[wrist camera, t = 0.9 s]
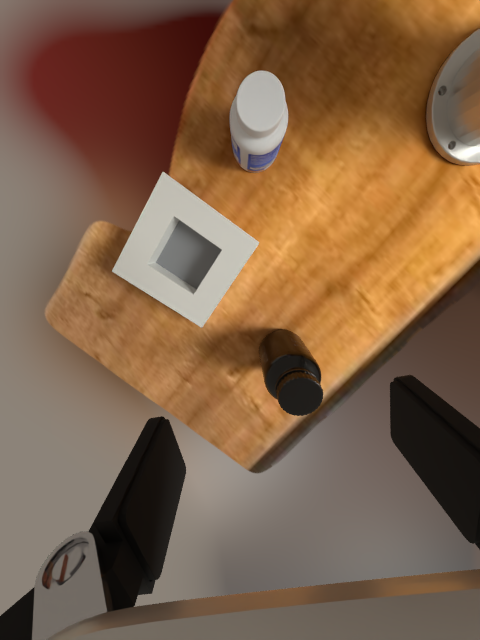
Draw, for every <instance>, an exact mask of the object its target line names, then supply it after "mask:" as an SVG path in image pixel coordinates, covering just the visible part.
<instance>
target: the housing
mask: <svg viewBox="0 0 480 640" xmlns="http://www.w3.org/2000/svg"><path fill="white" fill-rule="evenodd" d="M258 244H259V242H258V241H257V240H255V239H254V238H253V237H251V236H250V235H249V234H247V233H246V232H244V231H243V230H242V229H240V228H239V227H238V226H236V225H235V224H234V223H232V222H231V221H230V220H228V219H227V218H225V217H224V216H223V215H221V214H220V213H219V212H217V211H216V210H215V209H213V208H212V207H210V206H209V205H208V204H206V203H205V202H204V201H202V200H201V199H200V198H198V197H197V196H195V195H194V194H193V193H191V192H190V191H189V190H187V189H186V188H185V187H183V186H182V185H181V184H179V183H178V182H176V181H175V180H174V179H172V178H171V177H170V176H168V175H167V174H166V173H164V172H162V174H161V176H160V178H159V180H158V182H157V184H156V186H155V188H154V190H153V192H152V194H151V196H150V198H149V200H148V202H147V204H146V205H145V207H144V209H143V211H142V213H141V215H140V217H139V219H138V221H137V223H136V225H135V227H134V229H133V231H132V233H131V235H130V237H129V239H128V241H127V243H126V245H125V247H124V249H123V250H122V252H121V254H120V256H119V258H118V260H117V262H116V264H115V266H114V268H113V270H112V272H114V273H115V274H117V275H118V276H120V277H122V278H123V279H125V280H126V281H128V282H130V283H131V284H133V285H134V286H136V287H138V288H139V289H141V290H142V291H144V292H146V293H147V294H149V295H150V296H152V297H154V298H155V299H157V300H158V301H160V302H162V303H163V304H165V305H166V306H168V307H170V308H171V309H173V310H174V311H176V312H178V313H179V314H181V315H182V316H184V317H186V318H187V319H189V320H190V321H192V322H194V323H195V324H197V325H198V326H200V327H201V328H202V327H203V325H204V324H205V322H206V321H207V320H208V318H209V317H210V315H211V314H212V312H213V311H214V309H215V308H216V306H217V305H218V303H219V302H220V300H221V299H222V297H223V296H224V294H225V293H226V291H227V290H228V288H229V287H230V286H231V284H232V283H233V281H234V280H235V278H236V277H237V275H238V274H239V272H240V271H241V269H242V268H243V266H244V265H245V263H246V262H247V260H248V259H249V257H250V256H251V254H252V253H253V252H254V250H255V249H256V247H257V246H258Z"/></svg>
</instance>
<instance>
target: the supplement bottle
mask: <svg viewBox="0 0 480 640" xmlns="http://www.w3.org/2000/svg"><path fill="white" fill-rule="evenodd" d="M259 357H260V362H261V367H262V372H263V377H264V382H265V385H266V388H267V390H268V392H269V393H270V394H271V395H272V396H273V397H274V398H275V399H277V400H278V402H279V404H280V406H281V408H283V410H284V411H286V412H287V413H289V414H292V415H297V416H300V415H301V416H303V415H307V414H309V413H311V412H313V411H315V409H317V408H318V406H320V403H321V402H322V399H323V390H322V388H321V385H320V382H321V371H320V368H319V365H318V364H317V362H316V360H315V359H314V358H313V356H312V355H311V353H310V352H309V350H308V349H307V347H306V346H305V344H304V343H303V341H302V340H301V339H300V338H299V336H298V335H296V334H295V333H293V332H291V331H288V330H277V331H274V332H271V333H270V334H268V335H267V336H266V337H265V338H264V339H263V340H262V342H261V344H260V347H259Z"/></svg>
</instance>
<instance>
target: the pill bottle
mask: <svg viewBox="0 0 480 640" xmlns="http://www.w3.org/2000/svg"><path fill="white" fill-rule="evenodd" d="M287 125H288V108H287V104H286V101H285V93H284V89H283V86H282V84H281V82H280V81H279V79H278V78H277V77H276V76H275V75H274V74H272V73H270V72H268V71H256V72H253V73H251V74H249V75H248V76H247V77H246V78H245V79H244V80H243V82H242V83H241V85H240V87H239V89H238V92H237V95H236V97H235V99H234V100H233V103H232V106H231V109H230V131H231V140H232V149H233V153H234V157H235V159H236V161H237V162H238V164H239V165H240V166H241V167H242V168H243V169H245V170H246V171H248V172H253V173H257V172H261V171H264V170H266V169H267V168H268V167H270V166H271V164H272V163H273V162H274V160H275V158H276V156H277V154H278V151H279V148H280V146H281V143H282V140H283V138H284V135H285V132H286V129H287Z"/></svg>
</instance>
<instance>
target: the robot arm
mask: <svg viewBox="0 0 480 640" xmlns="http://www.w3.org/2000/svg"><path fill="white" fill-rule="evenodd" d="M426 122H427V130H428V134H429V137H430V140H431V142H432V144H433V146H434V148H435V149H436V150H437V152H438V153H439V154H440V155H441V156H442V157H444V158H445V159H447V160H448V161H450V162H452V163H455V164H458V165H468V166H469V165H477V164H480V29H478V30H476V31H475V32H473V33H472V34H471V35H470V36H469V37H467V38H466V39H465V40H464V41H463V42H462V43H461V44H460V45H459V46H458V47H457V48H456V49H455V50H454V51H453V52H452V53H451V54H450V55H449V57H448V58H447V59H446V61H445V62H444V63H443V65H442V66H441V68H440V70H439V72H438V74H437V75H436V77H435V79H434V82H433V85H432V87H431V90H430V93H429V98H428V102H427V112H426ZM390 420H391V421H390V422H391V438H392V440H393V442H394V444H395V445H396V447H397V448H398V449H399V450H400V452H401V453H402V454H403V456H404V457H405V458H406V460H407V461H408V462H409V464H410V465H411V466H412V468H413V469H414V470H415V472H416V473H417V474H418V476H419V477H420V478H421V480H422V481H423V482H424V483H425V485H426V486H427V488H428V489H429V490H430V492H431V493H432V494H433V496H434V497H435V498H436V500H437V501H438V502H439V504H440V505H441V506H442V508H443V509H444V510H445V511H446V513H447V514H448V516H449V517H450V518H451V520H452V521H453V522H454V524H455V525H456V526H457V528H458V529H459V530H460V532H461V533H462V534H463V536H464V537H465V538H466V539H467V540H468V541H469V542H470V543H475V544H476V545H477V547H478V548H479V549H480V428H478V427H477V426H476V425H475V424H473V423H472V422H471V421H469V420H468V419H467V418H466V417H464V416H463V415H462V414H461V413H459V412H458V411H457V410H456V409H454V408H453V407H452V406H450V405H449V404H448V403H447V402H446V401H444V400H443V399H442V398H440V397H439V396H438V395H437V394H435V393H434V392H433V391H431V390H430V389H429V388H428V387H426V386H425V385H424V384H423V383H421V382H420V381H419V380H418V379H416V378H415V377H413V376H412V375H407V376H401V377H396V378H394V382H391V383H390ZM185 474H186V466H185V463H184V460H183V457H182V455H181V452H180V449H179V446H178V444H177V441H176V438H175V436H174V433H173V430H172V427H171V425H170V422H169V420H168V419H165V418H164V417H156V418H151V419H149V420H148V421H147V423H146V425H145V427H144V429H143V430H142V432H141V434H140V436H139V438H138V440H137V442H136V444H135V446H134V448H133V449H132V451H131V453H130V455H129V457H128V459H127V460H126V462H125V464H124V466H123V468H122V470H121V471H120V473H119V475H118V477H117V479H116V481H115V483H114V485H113V487H112V489H111V490H110V492H109V494H108V496H107V498H106V500H105V502H104V503H103V505H102V507H101V509H100V511H99V513H98V515H97V517H96V518H95V520H94V522H93V524H92V526H91V528H90V530H89V532H79V533H76V534H73V535H72V536H70V537H69V538H67V539H65V540H64V541H63V542H62V543H61V544H59V545H58V546H57V547H56V548H55V549H54V550H53V552H52V553H51V554H50V555H49V556H48V557H47V559H46V560H45V562H44V563H43V565H42V566H41V568H40V571H39V573H38V575H37V577H36V583H35V587H34V588H33V589H32V590H31V591H29V592H28V593H27V594H26V595H24V596H23V597H22V598H21V599H20V600H19V601H17V602H16V603H15V604H14V605H13V606H12V607H10V608H9V609H8V610H7V611H6V612H5V613H3V614H2V615H1V616H0V640H480V569H477V570H465V571H454V572H444V573H434V574H425V575H414V576H404V577H394V578H384V579H373V580H364V581H355V582H345V583H335V584H326V585H316V586H308V587H298V588H288V589H279V590H271V591H260V592H252V593H243V594H235V595H225V596H216V597H209V598H208V597H207V598H198V599H190V600H181V601H173V602H166V603H159V604H152V605H145V606H137V607H134V606H135V602H136V599H137V596H138V595H142V594H151V593H152V591H153V588H154V584H155V580H157V579H158V578H159V577H160V575H161V572H162V568H163V564H164V560H165V556H166V552H167V548H168V544H169V540H170V536H171V532H172V528H173V524H174V520H175V515H176V511H177V507H178V503H179V499H180V495H181V491H182V487H183V482H184V479H185Z"/></svg>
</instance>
